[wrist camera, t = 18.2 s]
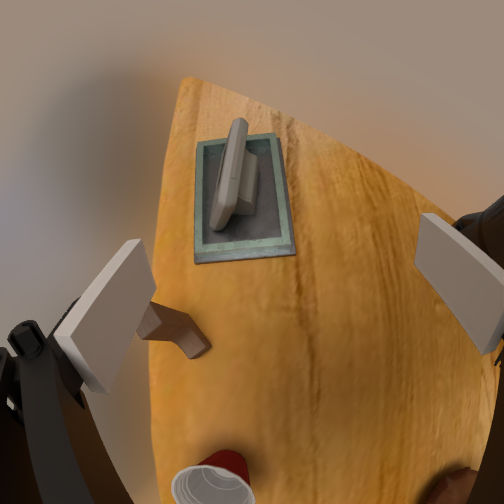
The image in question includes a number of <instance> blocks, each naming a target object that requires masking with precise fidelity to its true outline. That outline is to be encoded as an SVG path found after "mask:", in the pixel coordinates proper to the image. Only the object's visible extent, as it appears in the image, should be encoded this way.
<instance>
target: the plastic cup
mask: <svg viewBox="0 0 504 504" xmlns="http://www.w3.org/2000/svg"><path fill="white" fill-rule="evenodd" d="M171 493H172V495H173V497H174V499H175V501H176V503H177V504H255V502H256V500H255V497H254V494H253V492H252V489H251V487H250V481H249V473H248V470H247V464H246V461H245V460H244V458H243V457H242V456H241V455H240V454H238V453H237V452H235V451H231V450H223V451H218V452H216V453H215V454H213V455H212V456H210V457H208V458H206V459H205V460H203V461H202V462H201V463H199V464H198V465H194V466H190V467H188V468H186V469H184V470H181V471H179V472H178V473H177V474H176V476H175V477H174V479H173V480H172V491H171Z"/></svg>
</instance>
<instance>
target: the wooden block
mask: <svg viewBox="0 0 504 504" xmlns="http://www.w3.org/2000/svg"><path fill="white" fill-rule="evenodd" d="M136 331H137V333H138V335H139V336H140V338H141V339H142V340H156V341H172V342H174V343H176V344H177V345H178V346H179V347H180V348H181V349H182V350H183V352H184V353H185V354H186V356H187V357H188V359H196V358H198V357H200V356H201V355H202V354H203V353H205V352H206V351H207V350H209V349H210V348H211V347H212V346H211V344H210V343H209V342H208V340H207V339H206V338H205V336H204V335H203V334H202V332H201V331H200V330H199V328H198V327H197V326H196V324H195V323H194V322H193V320H192V319H191V317H190V316H189V315H188V314H186V313H183V312H180V311H177V310H174V309H171V308H168V307H165V306H163V305H160V304H157V303H154V302H152V301H150V303H149V305H148V307H147V309H146V311H145V313H144V315H143V317H142V319H141V321H140V324H139V326H138V328H137V330H136Z"/></svg>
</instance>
